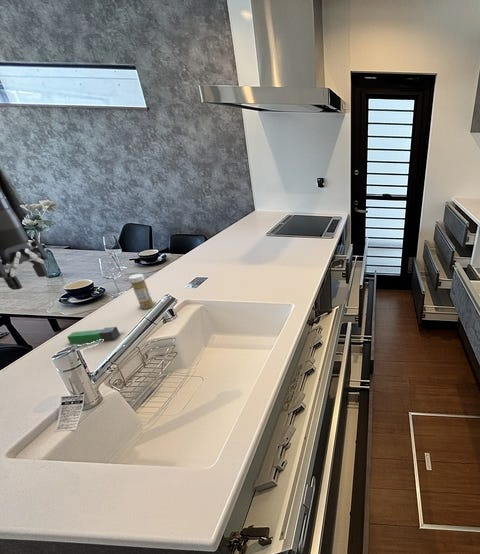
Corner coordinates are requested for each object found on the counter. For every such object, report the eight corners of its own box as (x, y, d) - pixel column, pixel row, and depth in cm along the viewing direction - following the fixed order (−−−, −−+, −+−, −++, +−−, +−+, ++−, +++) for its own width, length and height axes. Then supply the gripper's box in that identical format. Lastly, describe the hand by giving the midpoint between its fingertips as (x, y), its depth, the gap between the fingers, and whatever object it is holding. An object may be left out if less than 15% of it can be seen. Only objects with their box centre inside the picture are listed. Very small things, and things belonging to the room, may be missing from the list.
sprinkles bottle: (156, 303, 124) (145, 273, 118) (150, 308, 119) (138, 278, 114) (144, 303, 123) (133, 273, 118) (137, 309, 119) (125, 278, 114)
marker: (70, 344, 99) (65, 336, 98) (77, 338, 102) (73, 330, 101) (114, 340, 101) (110, 332, 100) (120, 334, 104) (116, 326, 103)
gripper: (-10, 233, 74) (23, 292, 81) (39, 219, 87) (64, 271, 93) (-46, 235, 73) (-9, 295, 80) (9, 221, 86) (37, 273, 92)
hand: (31, 282), depth 87 cm, fingers open, 8 cm apart
